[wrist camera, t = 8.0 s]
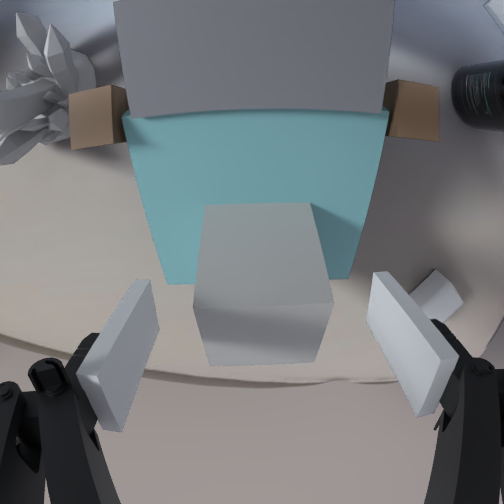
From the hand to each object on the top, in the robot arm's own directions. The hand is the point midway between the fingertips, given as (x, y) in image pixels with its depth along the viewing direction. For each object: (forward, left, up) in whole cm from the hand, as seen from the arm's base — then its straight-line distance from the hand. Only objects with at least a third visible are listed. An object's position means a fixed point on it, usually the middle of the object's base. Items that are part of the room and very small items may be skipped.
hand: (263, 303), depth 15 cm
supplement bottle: (-13, +23, -15) cm, 31 cm away
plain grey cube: (-1, 0, -7) cm, 7 cm away
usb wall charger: (+10, +18, -16) cm, 26 cm away
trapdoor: (-7, 0, -8) cm, 11 cm away
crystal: (-14, -19, -16) cm, 28 cm away
